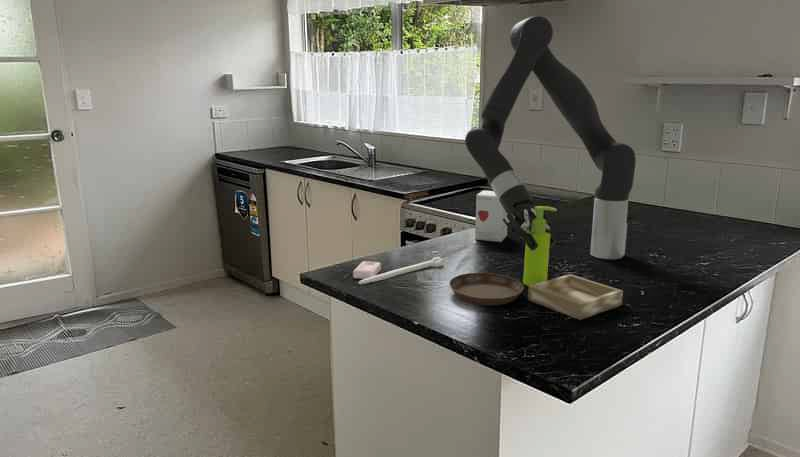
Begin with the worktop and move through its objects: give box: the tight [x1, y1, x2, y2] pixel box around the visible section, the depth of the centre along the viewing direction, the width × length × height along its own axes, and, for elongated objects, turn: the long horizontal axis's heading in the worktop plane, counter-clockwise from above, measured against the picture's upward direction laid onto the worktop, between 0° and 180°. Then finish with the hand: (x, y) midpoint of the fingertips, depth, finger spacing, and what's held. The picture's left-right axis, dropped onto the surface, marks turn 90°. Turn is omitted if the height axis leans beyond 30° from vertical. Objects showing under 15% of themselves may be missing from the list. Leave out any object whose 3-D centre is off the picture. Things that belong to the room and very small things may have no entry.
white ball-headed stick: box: [358, 256, 444, 285], centre depth 159 cm, size 28×4×3 cm, turn 129°
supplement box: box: [474, 189, 508, 243], centre depth 195 cm, size 9×9×15 cm
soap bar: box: [352, 260, 382, 280], centre depth 161 cm, size 5×9×2 cm, turn 167°
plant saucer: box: [448, 272, 524, 307], centre depth 144 cm, size 18×18×3 cm
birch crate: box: [527, 273, 624, 321], centre depth 139 cm, size 15×15×4 cm
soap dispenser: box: [522, 205, 558, 287], centre depth 150 cm, size 6×7×20 cm
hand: (544, 246), depth 148 cm, fingers closed on soap dispenser, 6 cm apart
